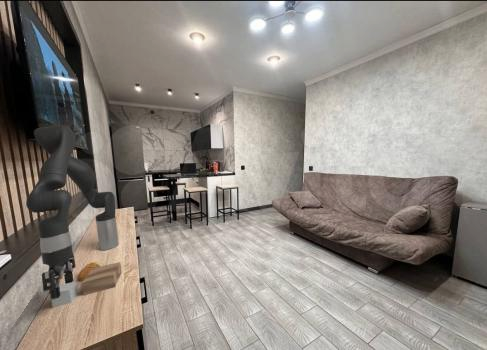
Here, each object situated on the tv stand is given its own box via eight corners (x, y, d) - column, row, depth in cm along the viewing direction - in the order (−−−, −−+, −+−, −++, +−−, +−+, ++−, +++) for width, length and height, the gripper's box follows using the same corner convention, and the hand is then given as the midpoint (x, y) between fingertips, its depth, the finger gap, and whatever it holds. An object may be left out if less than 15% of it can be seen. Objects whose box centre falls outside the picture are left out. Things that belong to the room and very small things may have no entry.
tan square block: (94, 279, 76) (92, 268, 75) (121, 272, 79) (120, 262, 79) (83, 295, 66) (81, 282, 66) (115, 286, 70) (113, 274, 70)
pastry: (93, 279, 76) (92, 271, 76) (73, 284, 74) (72, 275, 74) (101, 267, 85) (100, 260, 85) (84, 271, 83) (82, 263, 82)
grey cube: (61, 298, 66) (59, 285, 66) (78, 293, 68) (76, 281, 67) (52, 308, 61) (50, 294, 61) (71, 302, 63) (69, 289, 63)
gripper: (55, 241, 68) (61, 281, 69) (27, 258, 55) (34, 308, 56) (80, 236, 71) (85, 275, 72) (58, 252, 58) (65, 300, 59)
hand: (63, 289), depth 64 cm, fingers open, 8 cm apart
